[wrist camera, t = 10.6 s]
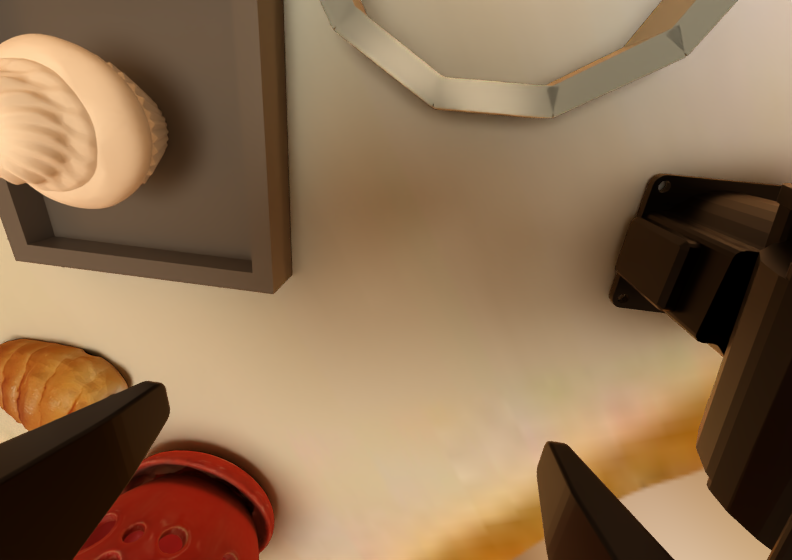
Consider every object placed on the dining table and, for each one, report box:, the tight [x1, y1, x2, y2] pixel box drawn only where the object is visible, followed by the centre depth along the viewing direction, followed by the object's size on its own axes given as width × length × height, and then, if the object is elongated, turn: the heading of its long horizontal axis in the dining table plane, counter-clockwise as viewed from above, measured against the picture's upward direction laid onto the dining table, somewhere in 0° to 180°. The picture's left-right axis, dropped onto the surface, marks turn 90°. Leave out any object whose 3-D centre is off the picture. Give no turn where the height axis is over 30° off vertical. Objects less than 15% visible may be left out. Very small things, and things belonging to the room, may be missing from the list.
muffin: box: [0, 34, 169, 209], centre depth 14 cm, size 6×6×7 cm
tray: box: [0, 0, 292, 294], centre depth 17 cm, size 14×14×2 cm
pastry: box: [0, 339, 128, 431], centre depth 25 cm, size 9×7×4 cm
